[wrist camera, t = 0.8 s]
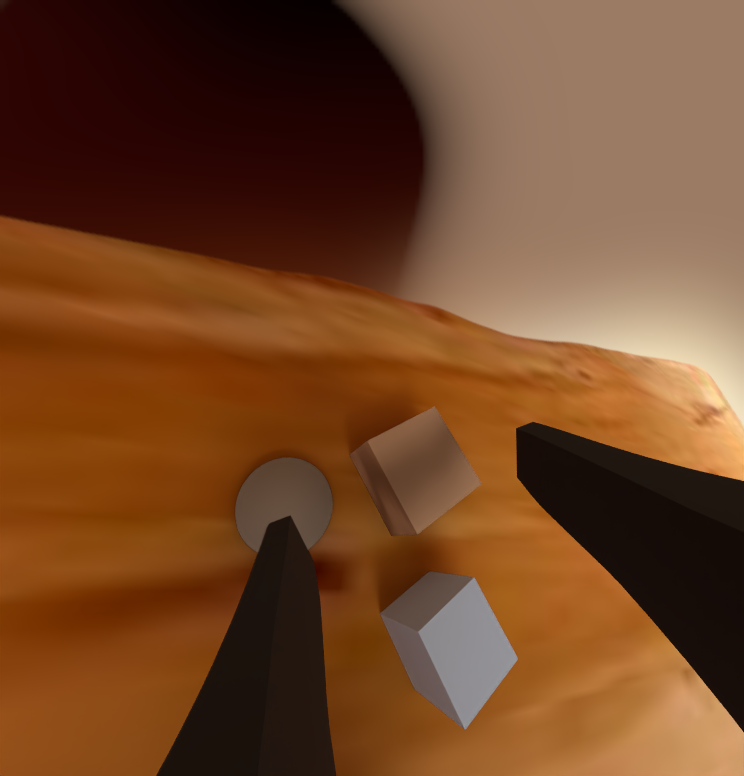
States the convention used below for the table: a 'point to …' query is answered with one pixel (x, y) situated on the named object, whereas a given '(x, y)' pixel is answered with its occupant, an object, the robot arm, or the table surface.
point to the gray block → (449, 643)
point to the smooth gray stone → (284, 500)
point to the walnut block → (415, 472)
